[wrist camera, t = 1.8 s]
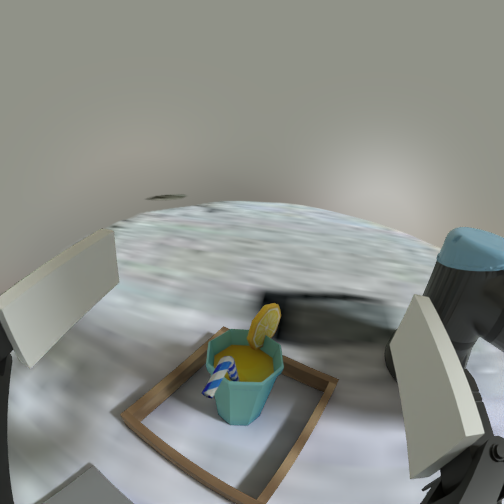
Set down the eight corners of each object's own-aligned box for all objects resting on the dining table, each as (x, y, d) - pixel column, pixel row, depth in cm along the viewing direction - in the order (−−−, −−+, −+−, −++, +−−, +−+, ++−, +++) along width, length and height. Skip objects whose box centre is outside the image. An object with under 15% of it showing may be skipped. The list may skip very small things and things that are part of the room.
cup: (244, 472, 23) (261, 409, 16) (179, 444, 25) (157, 366, 18) (283, 383, 35) (307, 294, 28) (229, 365, 37) (235, 274, 30)
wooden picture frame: (223, 338, 41) (223, 326, 40) (333, 390, 34) (338, 379, 32) (125, 424, 26) (120, 414, 25) (257, 514, 18) (260, 511, 17)
